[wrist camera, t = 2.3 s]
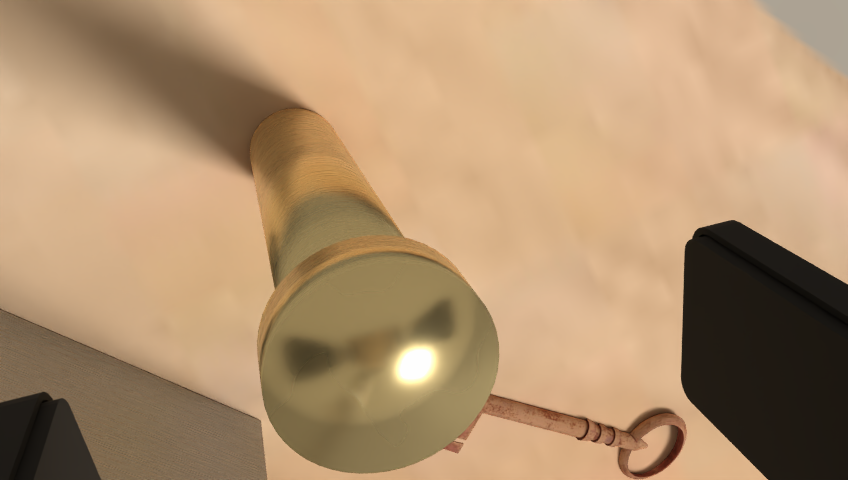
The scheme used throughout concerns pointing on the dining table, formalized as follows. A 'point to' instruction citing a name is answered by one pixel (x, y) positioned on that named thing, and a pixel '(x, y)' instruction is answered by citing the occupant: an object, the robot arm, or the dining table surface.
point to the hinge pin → (358, 313)
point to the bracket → (130, 411)
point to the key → (583, 430)
